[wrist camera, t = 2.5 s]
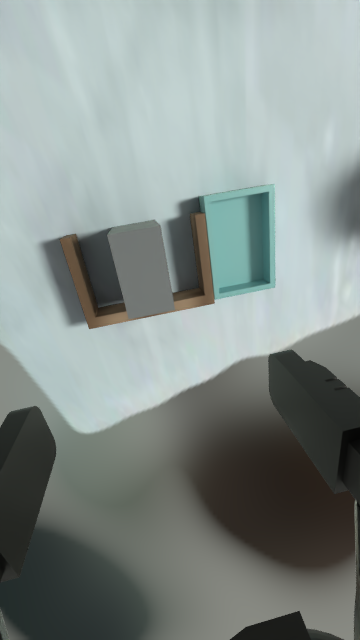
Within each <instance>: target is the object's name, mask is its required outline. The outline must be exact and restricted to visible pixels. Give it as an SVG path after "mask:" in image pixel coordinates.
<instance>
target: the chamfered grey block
mask: <svg viewBox="0 0 360 640" xmlns="http://www.w3.org/2000/svg"><path fill="white" fill-rule="evenodd" d="M107 237H108V241H109V245H110V249H111V252H112V256H113V260H114V264H115V268H116V272H117V276H118V280H119V284H120V287H121V291H122V295H123V299H124V303H125V307H126V311H127V315H128V319H134V318H139V317H144V316H149V315H153V314H158V313H163V312H168V311H173V310H175V306H174V300H173V295H172V289H171V283H170V278H169V272H168V266H167V261H166V255H165V249H164V243H163V238H162V232H161V226H160V225H159V224H158V223H157V222H156V221H155V220H151V221H145V222H140V223H134V224H128V225H123V226H117V227H112V229H111V230H110V231H109V233H108V234H107Z"/></svg>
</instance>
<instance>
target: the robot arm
mask: <svg viewBox="0 0 360 640" xmlns="http://www.w3.org/2000/svg"><path fill="white" fill-rule="evenodd" d="M268 362H269V392H270V396H271V400H272V402H273V404H274V406H275V407H276V409H277V411H278V412H279V414H280V415H281V416H282V418H283V419H284V421H285V422H286V424H287V425H288V427H289V428H290V429H291V431H292V433H293V434H294V435H295V437H296V438H297V440H298V441H299V443H300V444H301V446H302V447H303V449H304V450H305V452H306V453H307V455H308V456H309V457H310V459H311V460H312V462H313V463H314V465H315V466H316V468H317V469H318V471H319V472H320V473H321V475H322V476H323V478H324V479H325V481H326V482H327V484H328V485H329V487H330V488H331V489H332V491H333V493H334V494H336V493H340V492H344V491H347V490H349V491H350V492H351V494H352V496H353V497H354V498H355V547H356V596H355V607H354V640H360V397H359V396H358V395H356V394H355V393H354V392H353V391H352V390H351V389H350V388H347V387H346V385H345V384H344V383H343V382H342V381H340V380H339V379H337V377H336V376H335V375H334V374H332V373H331V372H330V371H329V370H328V369H327V368H325V367H323V366H321V365H319V364H317V363H315V362H313V361H304V360H303V359H302V358H301V357H300V356H298V355H297V354H296V353H295V352H294V351H293V350H287V351H283V352H278V353H274V354H270V355H269V360H268ZM55 457H56V445H55V440H54V437H53V435H52V433H51V431H50V429H49V427H48V425H47V423H46V421H45V419H44V417H43V415H42V412H41V410H40V409H39V408H38V407H37V406H33V407H29V408H24V409H20V410H15V411H11V412H10V413H9V414H8V415H7V417H6V418H5V420H4V422H3V424H2V425H1V427H0V582H3V581H7V580H11V579H14V578H18V577H20V574H21V571H22V567H23V564H24V560H25V557H26V554H27V551H28V547H29V544H30V540H31V537H32V534H33V530H34V527H35V524H36V521H37V517H38V514H39V511H40V507H41V504H42V501H43V497H44V494H45V490H46V487H47V484H48V481H49V477H50V474H51V471H52V467H53V464H54V460H55ZM0 640H10V639H9V636H8V633H7V630H6V626H5V623H4V620H3V616H2V613H1V610H0ZM230 640H344V639H341V638H339V637H336V636H334V635H332V634H329V633H326V632H322V631H318V630H313V629H306V626H305V624H304V621H303V619H302V616H301V614H300V611H298V612H294V613H291V614H288V615H285V616H281V617H278V618H275V619H271V620H268V621H264V622H261V623H258V624H254V625H251V626H248V627H245V628H244V629H243V630H242V631H240V632H239V633H238V634H236V635H235V636H234V637H233V638H232V639H230Z"/></svg>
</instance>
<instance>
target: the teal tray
mask: <svg viewBox="0 0 360 640" xmlns="http://www.w3.org/2000/svg"><path fill="white" fill-rule="evenodd" d="M199 205H200V213H205V219H206V228H207V237H208V247H209V256H210V265H211V274H212V284H213V293H214V299H215V300H216V299H221V298H225V297H230V296H235V295H240V294H245V293H250V292H255V291H260V290H265V289H270V288H275V184H271V185H262V186H256V187H251V188H245V189H239V190H233V191H228V192H222V193H216V194H210V195H204V196H199Z"/></svg>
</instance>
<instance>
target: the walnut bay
mask: <svg viewBox="0 0 360 640" xmlns="http://www.w3.org/2000/svg"><path fill="white" fill-rule="evenodd" d="M190 221H191V228H192V236H193V244H194V251H195V259H196V267H197V274H198V282H199V288H195V289H190V290H185V291H180V292H175V293H172V295H173V300H174V306H175V310H173V311H168V312H163V313H158V314H153V315H149V316H144V317H139V318H134V319H128V315H127V311H126V307H125V303H120V304H115V305H110V306H105V307H100V308H98V305H97V302H96V298H95V295H94V292H93V288H92V285H91V282H90V279H89V275H88V272H87V269H86V265H85V262H84V259H83V255H82V252H81V249H80V246H79V242H78V239H77V236H76V234H72V235H66V236H65V237H63V238H61V239H60V242H61V245H62V248H63V251H64V254H65V257H66V260H67V263H68V266H69V269H70V272H71V275H72V278H73V281H74V284H75V287H76V290H77V293H78V296H79V299H80V302H81V306H82V309H83V312H84V315H85V318H86V321H87V324H88V327H89V329H92V328H97V327H102V326H107V325H112V324H117V323H122V322H126V321H131V320H136V319H141V318H146V317H151V316H156V315H161V314H165V313H170V312H175V311H180V310H185V309H190V308H195V307H200V306H205V305H209V304H214V303H215V302H214V293H213V284H212V274H211V265H210V256H209V247H208V237H207V228H206V219H205V213H200V212H196V213H191V214H190Z"/></svg>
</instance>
